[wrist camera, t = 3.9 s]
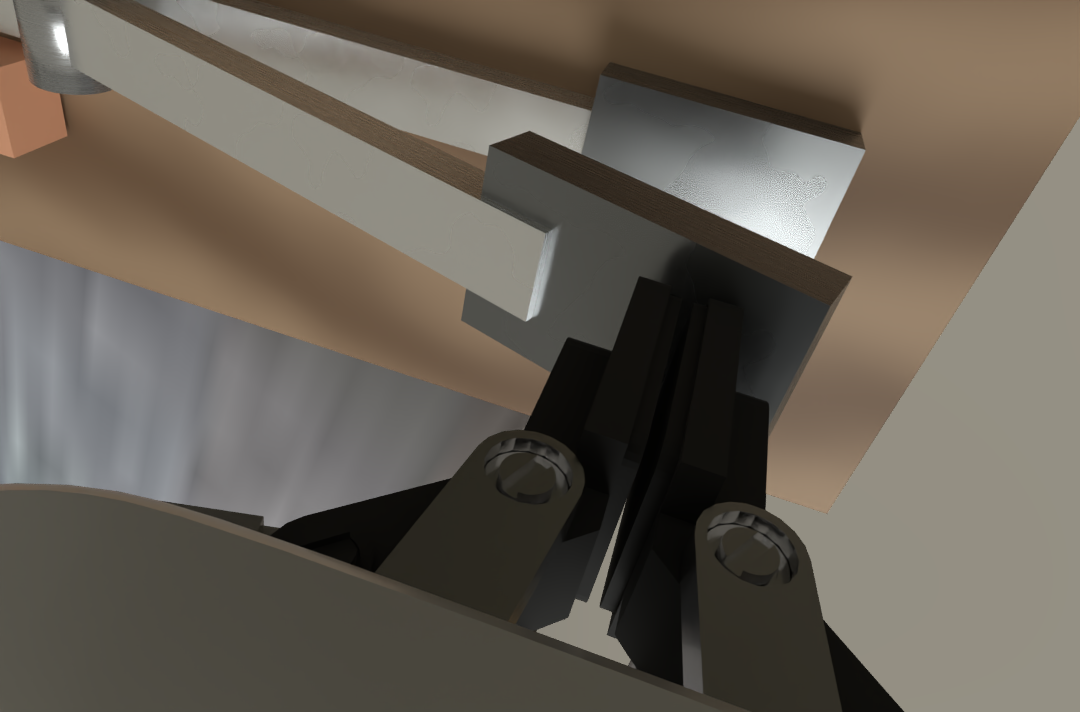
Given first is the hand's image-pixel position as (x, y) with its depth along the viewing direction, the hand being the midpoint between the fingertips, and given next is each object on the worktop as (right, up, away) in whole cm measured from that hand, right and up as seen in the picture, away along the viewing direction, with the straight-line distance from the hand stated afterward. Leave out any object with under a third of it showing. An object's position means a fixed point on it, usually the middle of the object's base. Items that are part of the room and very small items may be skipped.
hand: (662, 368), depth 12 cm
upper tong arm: (-6, +5, +4) cm, 8 cm away
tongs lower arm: (-6, +7, +7) cm, 12 cm away
